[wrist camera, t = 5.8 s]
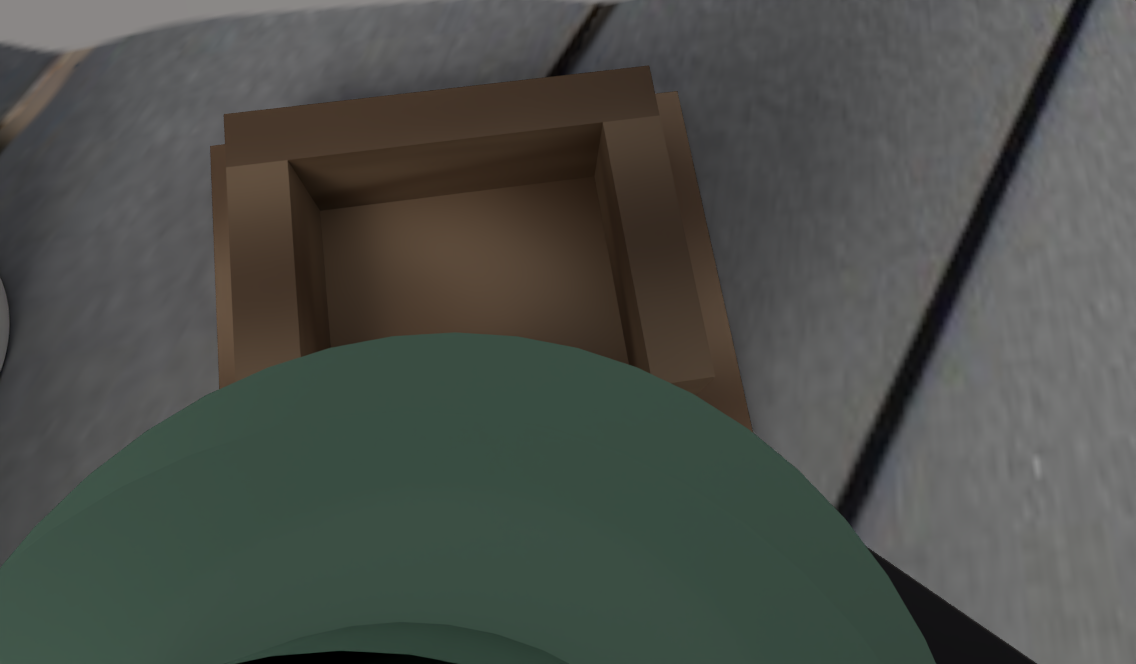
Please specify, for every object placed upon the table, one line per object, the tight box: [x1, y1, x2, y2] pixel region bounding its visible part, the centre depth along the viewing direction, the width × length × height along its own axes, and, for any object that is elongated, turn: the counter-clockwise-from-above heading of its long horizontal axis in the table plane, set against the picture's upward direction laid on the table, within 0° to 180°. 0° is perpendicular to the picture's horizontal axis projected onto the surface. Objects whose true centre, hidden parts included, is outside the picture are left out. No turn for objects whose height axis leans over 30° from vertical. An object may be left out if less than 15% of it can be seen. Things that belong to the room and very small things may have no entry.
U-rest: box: [210, 66, 753, 432], centre depth 20 cm, size 18×14×4 cm
